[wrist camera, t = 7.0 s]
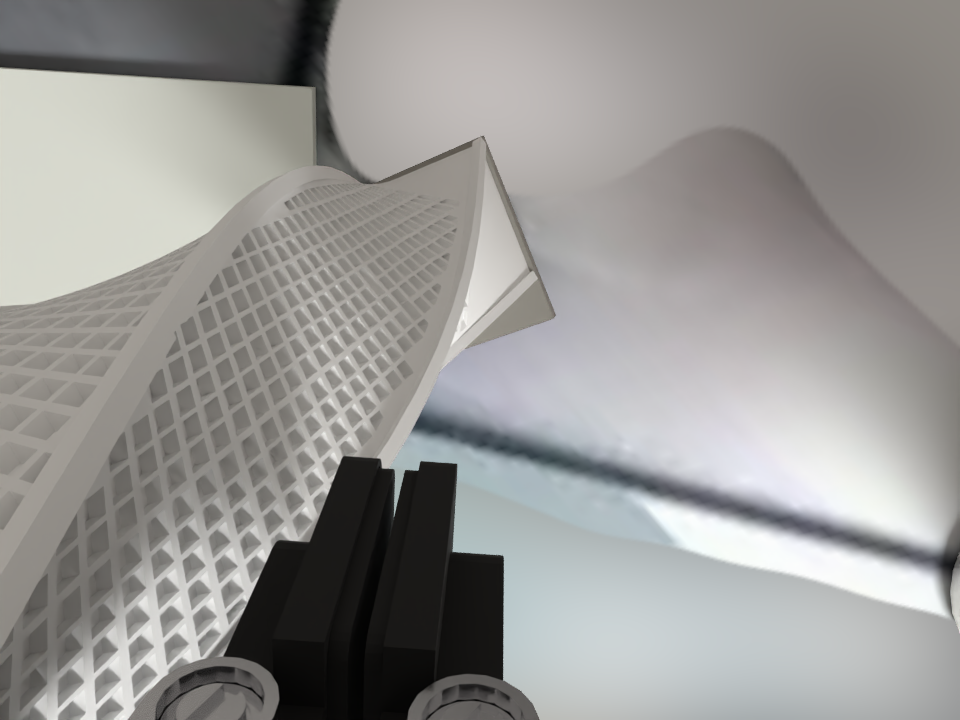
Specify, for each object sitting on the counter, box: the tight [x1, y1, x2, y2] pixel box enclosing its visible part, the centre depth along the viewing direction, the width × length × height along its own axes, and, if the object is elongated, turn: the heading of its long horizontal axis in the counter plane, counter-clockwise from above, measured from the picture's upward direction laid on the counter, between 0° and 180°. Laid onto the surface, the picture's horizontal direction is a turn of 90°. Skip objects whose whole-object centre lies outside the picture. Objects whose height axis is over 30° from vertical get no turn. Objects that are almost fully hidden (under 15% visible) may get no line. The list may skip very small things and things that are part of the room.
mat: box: [0, 67, 317, 306], centre depth 32 cm, size 23×11×1 cm, turn 87°
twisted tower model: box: [0, 136, 556, 720], centre depth 18 cm, size 8×8×28 cm
